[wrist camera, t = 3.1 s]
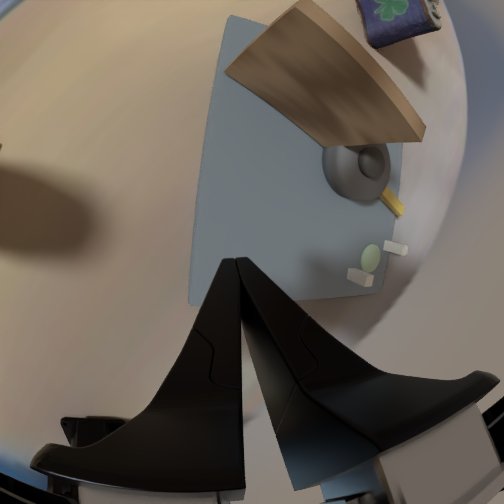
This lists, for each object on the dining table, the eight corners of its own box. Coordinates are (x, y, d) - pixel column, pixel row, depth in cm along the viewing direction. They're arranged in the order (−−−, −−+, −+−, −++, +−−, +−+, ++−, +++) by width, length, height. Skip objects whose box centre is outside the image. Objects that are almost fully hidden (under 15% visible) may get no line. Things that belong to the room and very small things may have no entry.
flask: (349, -14, 18) (417, -46, 9) (366, -6, 20) (433, -32, 10) (365, 46, 21) (449, 21, 12) (383, 53, 22) (462, 34, 13)
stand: (375, 290, 28) (396, 300, 25) (188, 301, 20) (198, 320, 17) (398, 96, 24) (420, 93, 21) (227, 19, 16) (243, -1, 13)
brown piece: (404, 186, 25) (479, 195, 17) (384, 236, 25) (462, 258, 17) (248, 40, 16) (323, -22, 8) (204, 97, 16) (269, 35, 8)
